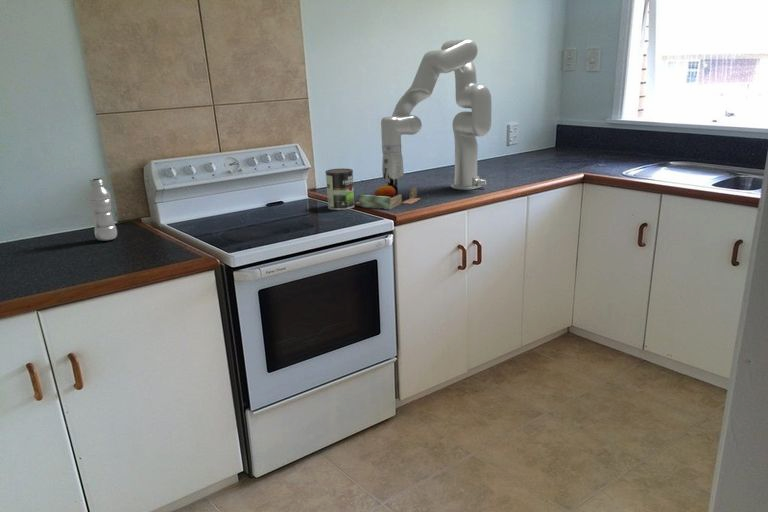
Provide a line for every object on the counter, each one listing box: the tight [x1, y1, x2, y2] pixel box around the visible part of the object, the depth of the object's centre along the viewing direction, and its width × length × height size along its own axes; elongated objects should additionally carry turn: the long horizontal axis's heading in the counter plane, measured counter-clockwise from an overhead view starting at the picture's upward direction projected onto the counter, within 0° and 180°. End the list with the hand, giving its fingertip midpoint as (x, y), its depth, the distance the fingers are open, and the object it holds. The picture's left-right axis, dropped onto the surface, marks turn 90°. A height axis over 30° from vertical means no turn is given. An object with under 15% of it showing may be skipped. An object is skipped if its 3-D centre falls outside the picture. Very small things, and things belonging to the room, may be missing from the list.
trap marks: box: [354, 197, 422, 205], centre depth 231 cm, size 21×16×1 cm
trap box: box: [358, 187, 418, 210], centre depth 231 cm, size 13×24×4 cm, turn 152°
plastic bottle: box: [87, 177, 118, 242], centre depth 189 cm, size 6×7×20 cm
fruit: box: [374, 184, 396, 198], centre depth 228 cm, size 8×8×8 cm
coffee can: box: [325, 168, 355, 211], centre depth 223 cm, size 10×10×14 cm
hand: (393, 195), depth 234 cm, fingers closed
